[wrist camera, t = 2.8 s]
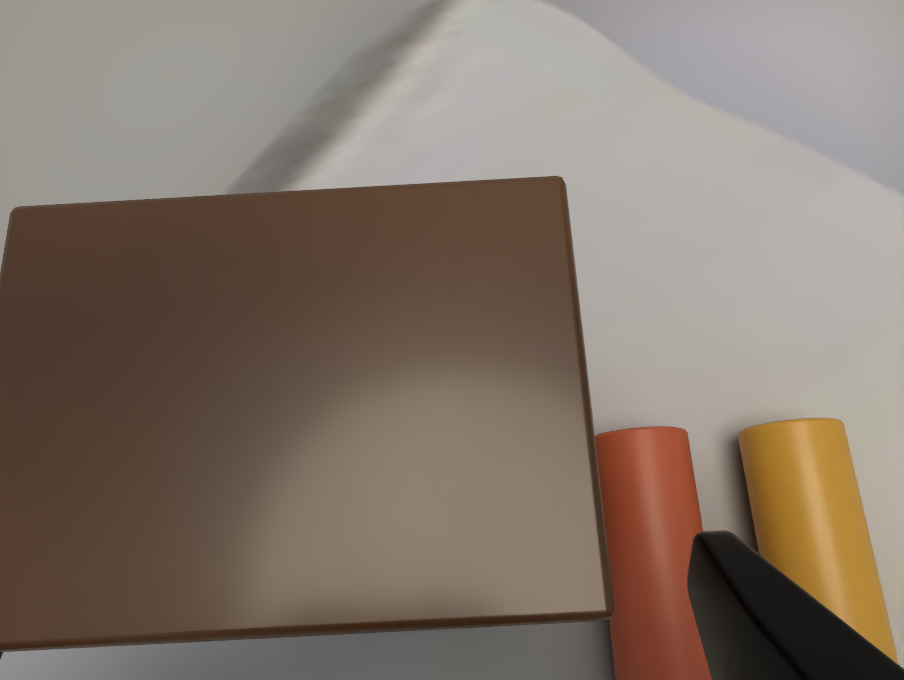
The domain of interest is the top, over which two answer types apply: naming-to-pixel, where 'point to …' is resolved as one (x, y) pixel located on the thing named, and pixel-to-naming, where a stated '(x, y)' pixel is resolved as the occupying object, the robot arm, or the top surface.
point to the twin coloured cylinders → (776, 526)
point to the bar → (296, 417)
